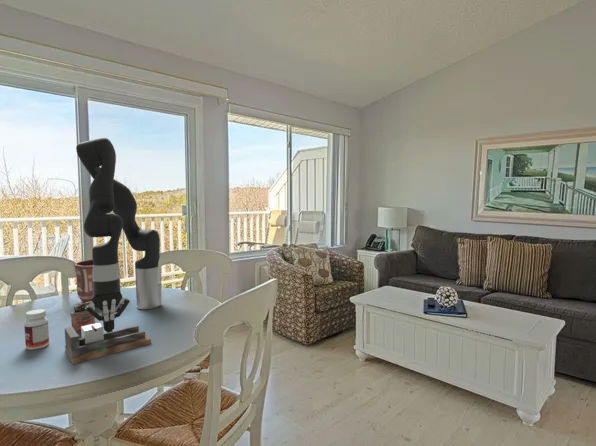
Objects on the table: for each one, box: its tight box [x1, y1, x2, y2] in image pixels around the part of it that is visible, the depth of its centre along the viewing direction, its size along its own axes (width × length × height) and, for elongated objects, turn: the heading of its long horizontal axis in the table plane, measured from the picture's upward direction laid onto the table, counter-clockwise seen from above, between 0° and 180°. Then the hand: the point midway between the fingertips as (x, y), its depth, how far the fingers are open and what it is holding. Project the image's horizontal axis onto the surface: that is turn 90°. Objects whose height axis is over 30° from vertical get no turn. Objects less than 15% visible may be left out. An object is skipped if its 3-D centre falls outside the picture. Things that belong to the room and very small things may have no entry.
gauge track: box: [64, 325, 152, 365], centre depth 116 cm, size 22×12×8 cm, turn 131°
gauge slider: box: [80, 322, 104, 346], centre depth 112 cm, size 5×7×6 cm
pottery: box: [74, 258, 119, 304], centre depth 165 cm, size 18×18×18 cm
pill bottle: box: [23, 308, 50, 350], centre depth 117 cm, size 6×6×11 cm
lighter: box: [69, 301, 96, 335], centre depth 130 cm, size 8×3×10 cm, turn 148°
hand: (109, 331), depth 116 cm, fingers closed
